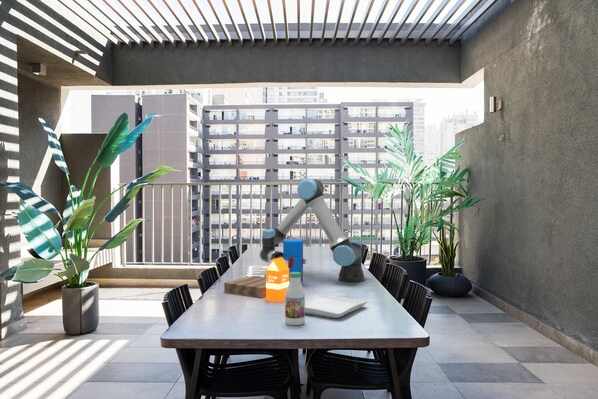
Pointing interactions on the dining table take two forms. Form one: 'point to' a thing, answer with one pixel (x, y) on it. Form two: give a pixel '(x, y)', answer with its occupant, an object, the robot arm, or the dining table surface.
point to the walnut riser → (247, 287)
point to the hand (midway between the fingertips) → (296, 262)
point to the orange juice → (277, 280)
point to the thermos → (294, 256)
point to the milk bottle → (295, 301)
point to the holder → (256, 271)
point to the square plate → (331, 305)
